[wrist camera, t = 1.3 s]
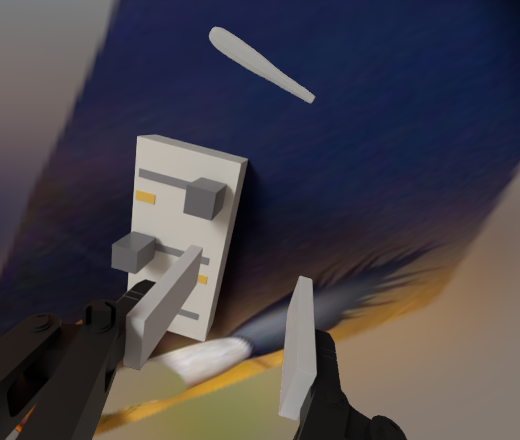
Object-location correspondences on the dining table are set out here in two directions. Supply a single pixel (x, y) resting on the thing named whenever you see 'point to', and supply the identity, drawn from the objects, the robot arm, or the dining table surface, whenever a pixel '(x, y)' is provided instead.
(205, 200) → the tab
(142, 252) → the tab
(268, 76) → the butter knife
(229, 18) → the dining table surface
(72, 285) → the dining table surface
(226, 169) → the switch bank
